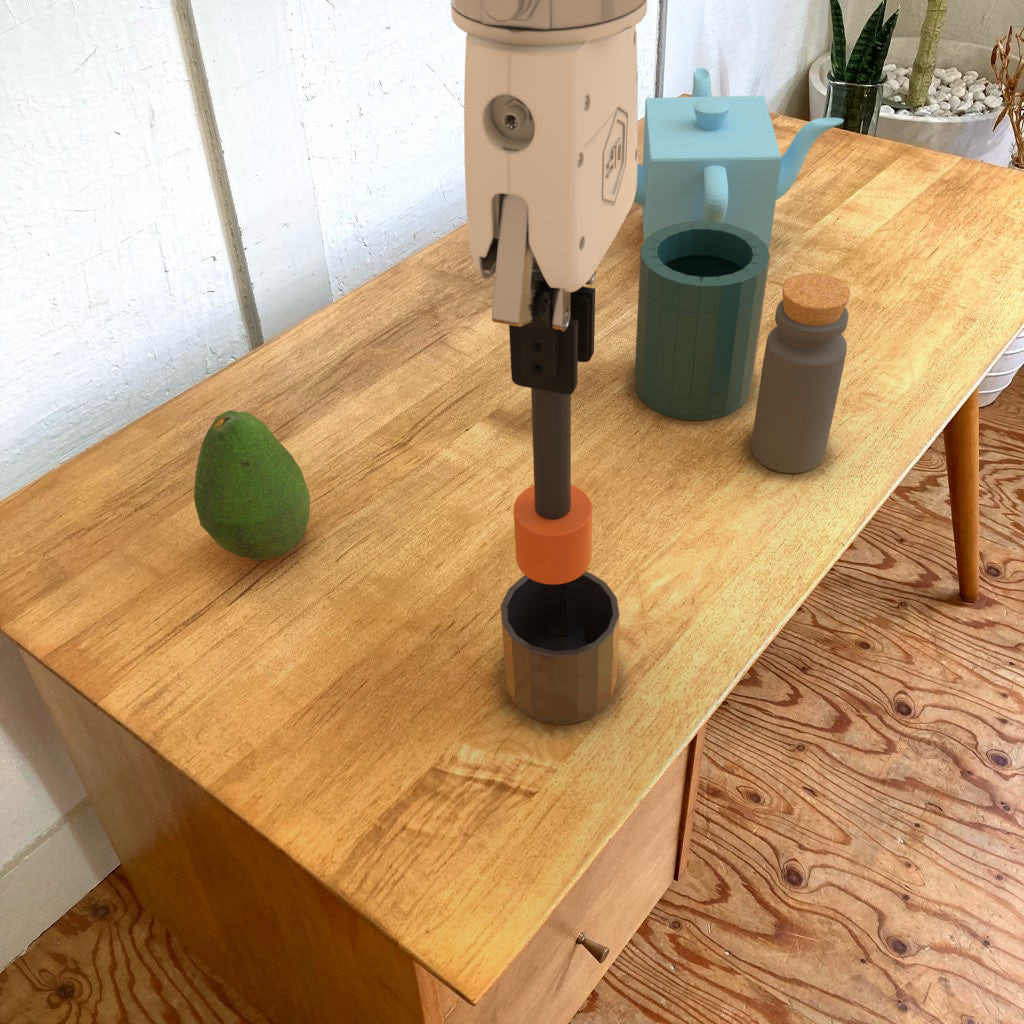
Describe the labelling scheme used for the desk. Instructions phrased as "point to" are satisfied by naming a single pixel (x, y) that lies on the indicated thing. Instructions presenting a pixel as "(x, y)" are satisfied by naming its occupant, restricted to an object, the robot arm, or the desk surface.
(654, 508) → the desk surface
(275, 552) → the fruit
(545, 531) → the rod with orange collar
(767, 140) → the teakettle
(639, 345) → the jar
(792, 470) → the bottle
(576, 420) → the desk surface
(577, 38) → the robot arm
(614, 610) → the holder
